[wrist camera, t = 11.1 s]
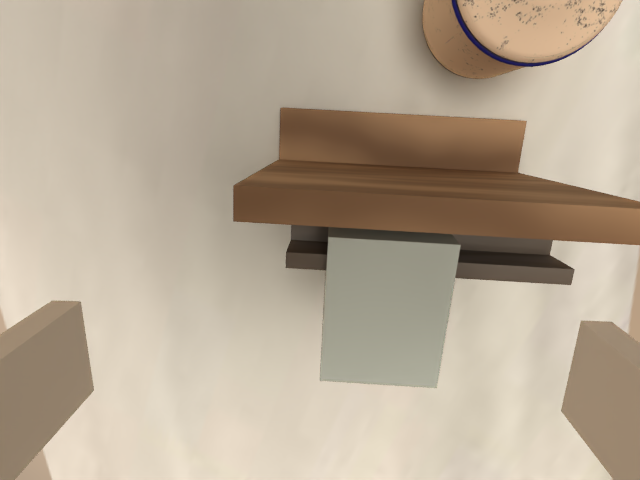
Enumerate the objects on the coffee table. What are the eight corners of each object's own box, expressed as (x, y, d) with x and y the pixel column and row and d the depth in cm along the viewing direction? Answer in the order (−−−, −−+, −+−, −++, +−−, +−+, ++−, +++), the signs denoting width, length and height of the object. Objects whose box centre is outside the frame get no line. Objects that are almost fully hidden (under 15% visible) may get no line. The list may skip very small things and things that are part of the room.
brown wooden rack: (281, 108, 32) (233, 88, 16) (521, 121, 31) (705, 114, 16) (278, 216, 34) (233, 289, 18) (503, 229, 34) (649, 314, 18)
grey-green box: (330, 194, 28) (328, 237, 19) (421, 199, 28) (460, 244, 19) (323, 313, 30) (318, 396, 22) (405, 318, 30) (433, 404, 22)
